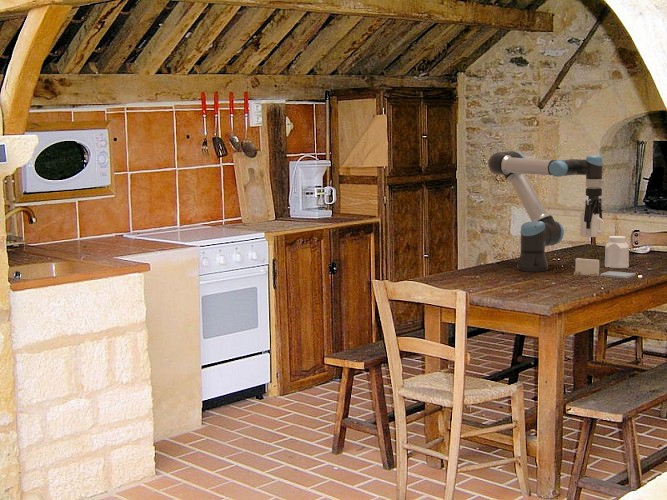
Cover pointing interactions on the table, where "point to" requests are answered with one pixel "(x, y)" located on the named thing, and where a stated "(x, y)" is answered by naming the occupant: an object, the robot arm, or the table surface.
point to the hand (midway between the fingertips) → (592, 234)
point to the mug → (595, 226)
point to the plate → (618, 274)
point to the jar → (617, 252)
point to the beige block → (587, 267)
